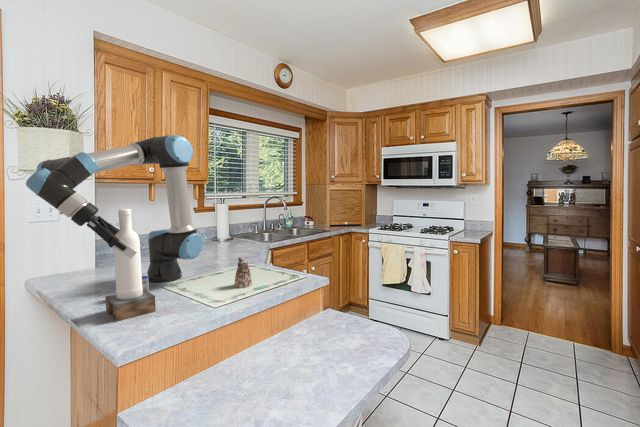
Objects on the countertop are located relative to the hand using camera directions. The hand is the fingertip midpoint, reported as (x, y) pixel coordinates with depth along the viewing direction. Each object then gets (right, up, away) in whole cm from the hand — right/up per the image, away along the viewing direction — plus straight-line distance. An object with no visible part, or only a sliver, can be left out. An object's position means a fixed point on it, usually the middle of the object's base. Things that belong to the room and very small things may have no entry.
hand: (135, 252), depth 117 cm
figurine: (+30, -18, +31) cm, 47 cm away
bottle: (-2, -15, 0) cm, 16 cm away
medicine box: (-8, -20, +16) cm, 27 cm away
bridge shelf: (-2, -21, +1) cm, 21 cm away
